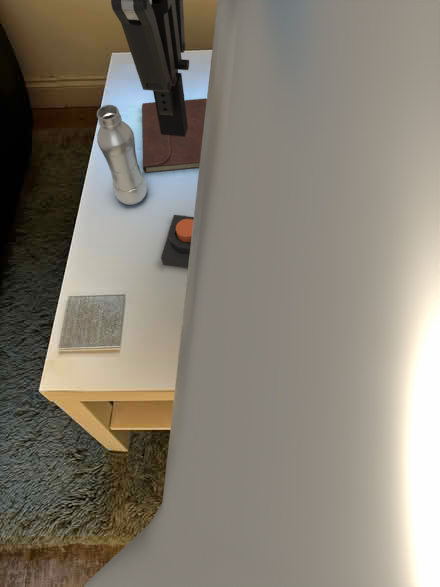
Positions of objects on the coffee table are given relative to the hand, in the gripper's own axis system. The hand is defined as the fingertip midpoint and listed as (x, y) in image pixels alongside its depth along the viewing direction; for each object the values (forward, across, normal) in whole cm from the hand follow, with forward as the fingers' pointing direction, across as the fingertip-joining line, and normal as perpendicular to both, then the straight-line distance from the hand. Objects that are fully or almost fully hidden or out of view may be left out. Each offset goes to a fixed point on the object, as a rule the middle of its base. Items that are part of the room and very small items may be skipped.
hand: (174, 130), depth 49 cm
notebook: (+34, +37, +12) cm, 52 cm away
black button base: (+34, +9, +4) cm, 35 cm away
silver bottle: (+34, +19, +17) cm, 43 cm away
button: (+30, +9, +3) cm, 32 cm away
